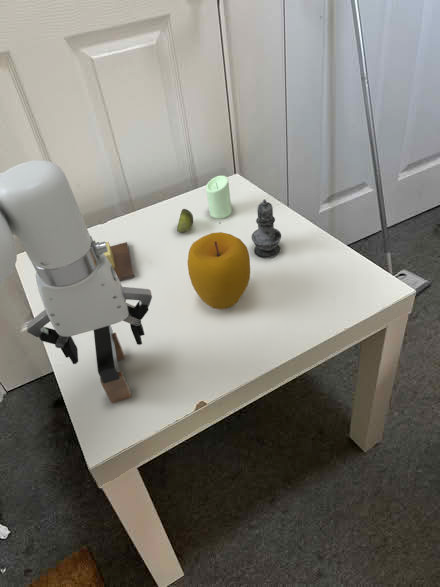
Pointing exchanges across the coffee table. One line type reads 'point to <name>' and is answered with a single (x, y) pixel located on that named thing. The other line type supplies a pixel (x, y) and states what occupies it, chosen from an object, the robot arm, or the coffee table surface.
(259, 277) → the coffee table surface
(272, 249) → the black chess piece
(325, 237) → the coffee table surface
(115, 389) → the brown block
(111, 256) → the butter slice
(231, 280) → the apple
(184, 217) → the lime
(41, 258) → the robot arm
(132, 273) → the butter board
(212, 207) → the candle
